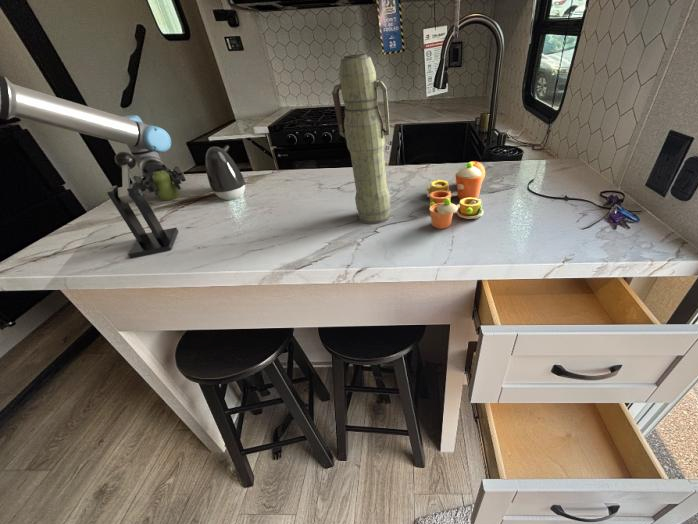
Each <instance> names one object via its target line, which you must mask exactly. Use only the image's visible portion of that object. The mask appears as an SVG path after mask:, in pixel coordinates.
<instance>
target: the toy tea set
mask: <svg viewBox="0 0 698 524" xmlns="http://www.w3.org/2000/svg"><path fill="white" fill-rule="evenodd" d="M471 162H472V161H469V162H467V163H468V164H467V163H466V164H467V166H466V167H464V166H463V167H461V168H460V169H459V170H458V171H457V172H456V173H455V185H456V193H457V198H458V200H459V199H460V200H459V204H454V203H452V202H451V198H452V191H451V190H450V189H449V187H450V183H449V182H448V181H446V180H442V179H439V178H437V179H436V180H433V181H431V182H429V183H430V184H429V187H428V186H426V189H425V190H426V191H427V194H426V196H427V198H429V200H430V203H429V214H430V220H431V225H432V227H434V228H435V229H441V230H442V229H447V228H449V227H450V226H451V224H452V219H453V214H455V213H456V215H457V216H458V217H459V218H463V219H465V220H466V219H467V220H473V219H478V218H481V217H482V216H483V215H484V210H483V208H482V207H483V201H482V199H479V196H480V191H481V188H482V182H483V181H482V179H483V173H482V172H481V171H480V170H479V169H477V168H476V167H473V164H472V163H471ZM483 180H484V179H483Z"/></svg>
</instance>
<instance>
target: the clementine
mask: <svg viewBox="0 0 698 524" xmlns="http://www.w3.org/2000/svg"><path fill="white" fill-rule="evenodd" d="M470 162H471V163H472V164H473V167H476V168H477V169H479V170H480V171H481V172H482V173H483V179H482V182H483V181H484V179H485V176H486V171H485V170H486V169H485V167H484V165H483V164H482V163H481V162H479V161H476V160H473V161H470ZM468 163H469V162H467V163H465V165H464V166H463V167H466V166H467V164H468Z"/></svg>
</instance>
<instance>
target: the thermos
mask: <svg viewBox="0 0 698 524" xmlns="http://www.w3.org/2000/svg"><path fill="white" fill-rule="evenodd" d="M339 63H340V64H339V72H338V73H339V75H338V76H339V83H338V84H335V85H334V87H333V89H332V92H331V96H332V100H333V101H332V102H333V105H334V112H335V116H336V121H337V126H338V134H339V135H340V136H341V137H343V138H344V139H345V142H346V147H347V150H348V152H349V153H350V154H349V155H350V160H351V166H352V173H353V178H354V179H353V181H354V186H355V192H356V193H355V197H354V199H355V206H356V211H357V214H358V220H359V222H360V223H361V222H362V223H363V224H369V225H373V224H382V223H384V222H386V221H388V220H389V219H391V217H392V212H391V206H392V205H391V194H390V191H389V188H388V185H387V173H386V172H387V171H386V162H385V152H384V151H385V150H384V149H385V145H386V140H385V137H386V136H389V135H390V132H391V131H390V130H391V129H390V127H391V126H390V115H389V101H388V99H389V98H388V88H387V86H386V85H385V83H384V82H383V80H379V79H377V73H376V72H377V71H376V69H375V66H374V63H373V60H372V57H371V56H369V55H367V53H359V54H350V55H343V58H340V62H339ZM378 87H380V89H381V90H382V100H383V111H384V119H383V117H382V114H381V112H380V105H379V104H378V99H379V94H378V93H379V92H378ZM340 90H341V96H342V97H341V98H342V102H343V103H344V108H343V110H344V117H343V112H342V105H341V99H340ZM343 118H344V119H343ZM384 122H385V123H384ZM384 125H385V127H384Z"/></svg>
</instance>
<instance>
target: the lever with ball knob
mask: <svg viewBox="0 0 698 524" xmlns="http://www.w3.org/2000/svg"><path fill="white" fill-rule="evenodd" d="M114 161H115V164H116V165H117V166H118V167H119V168H121V180H122V183H121V184H122V186H120V187H119V186H118V187H119V188H118V197H119V198H120V199H121V200H122V201H123V202H124V203H125V204H126V203H128V204H131V203H135V202H134V201H133V199H132V197H131V195H130V194H129V192H128V190H127V188H128V187H129V186H130V185H131V177H130V176H131V174H130V173H131V172H130V170H133V169H134V168H135V167H136V165H137V163H136V160H135V158H134V157H133V155H132V153H131V152H130V153H129V152H127V151H119V152H117V153H116V154H115V155H114Z"/></svg>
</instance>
